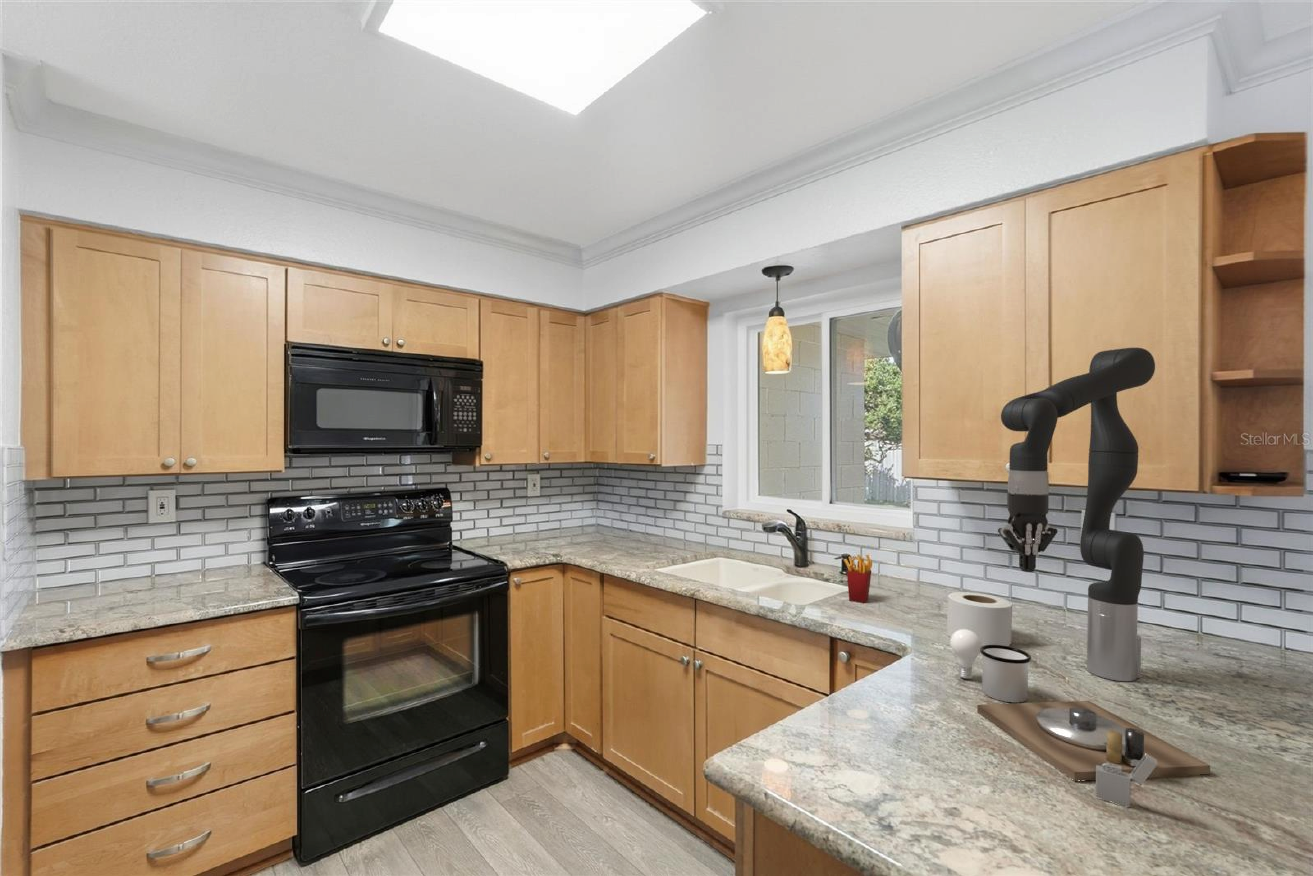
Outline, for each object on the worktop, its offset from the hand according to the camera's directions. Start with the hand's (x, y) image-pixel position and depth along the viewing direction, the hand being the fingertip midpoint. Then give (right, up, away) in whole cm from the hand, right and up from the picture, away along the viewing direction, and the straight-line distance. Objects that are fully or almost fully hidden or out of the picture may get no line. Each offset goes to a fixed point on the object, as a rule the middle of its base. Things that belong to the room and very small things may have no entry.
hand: (1027, 571), depth 131 cm
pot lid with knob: (-4, -24, -25) cm, 34 cm away
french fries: (-13, -25, +71) cm, 76 cm away
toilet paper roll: (+7, -26, +33) cm, 43 cm away
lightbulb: (-11, -25, +5) cm, 28 cm away
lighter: (-11, -26, -41) cm, 50 cm away
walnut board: (-4, -25, -22) cm, 34 cm away
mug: (-6, -26, -3) cm, 26 cm away
